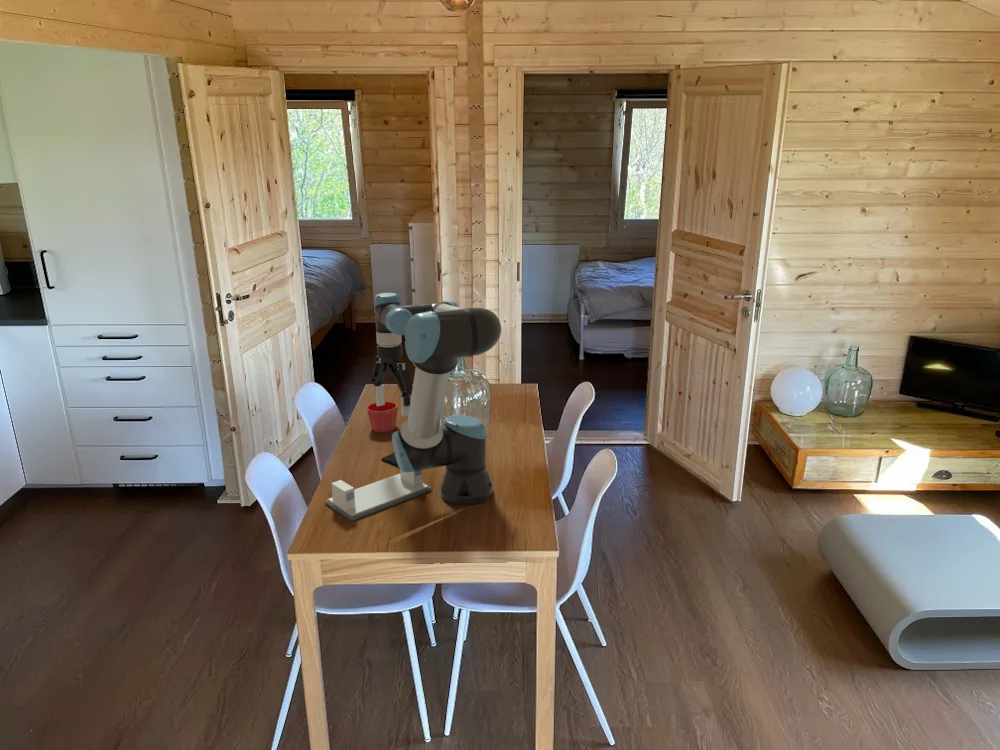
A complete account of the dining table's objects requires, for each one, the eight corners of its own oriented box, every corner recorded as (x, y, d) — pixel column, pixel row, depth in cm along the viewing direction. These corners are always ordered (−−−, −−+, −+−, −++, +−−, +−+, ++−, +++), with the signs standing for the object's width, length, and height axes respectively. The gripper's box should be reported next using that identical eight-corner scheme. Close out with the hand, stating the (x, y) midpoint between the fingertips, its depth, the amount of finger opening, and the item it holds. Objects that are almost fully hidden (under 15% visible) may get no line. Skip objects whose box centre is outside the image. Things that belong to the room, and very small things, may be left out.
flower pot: (365, 428, 261) (363, 403, 259) (394, 424, 265) (393, 399, 263) (372, 439, 252) (370, 412, 249) (402, 434, 256) (401, 408, 253)
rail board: (431, 490, 213) (430, 467, 211) (351, 521, 196) (349, 496, 194) (403, 475, 223) (402, 453, 221) (325, 503, 206) (323, 479, 203)
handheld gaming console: (384, 466, 235) (380, 459, 233) (404, 443, 240) (400, 436, 238) (408, 474, 228) (403, 467, 226) (427, 450, 234) (423, 443, 232)
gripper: (424, 349, 213) (427, 416, 219) (376, 335, 231) (380, 398, 237) (403, 353, 208) (407, 423, 215) (356, 339, 226) (360, 403, 232)
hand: (393, 410), depth 226 cm, fingers open, 13 cm apart
